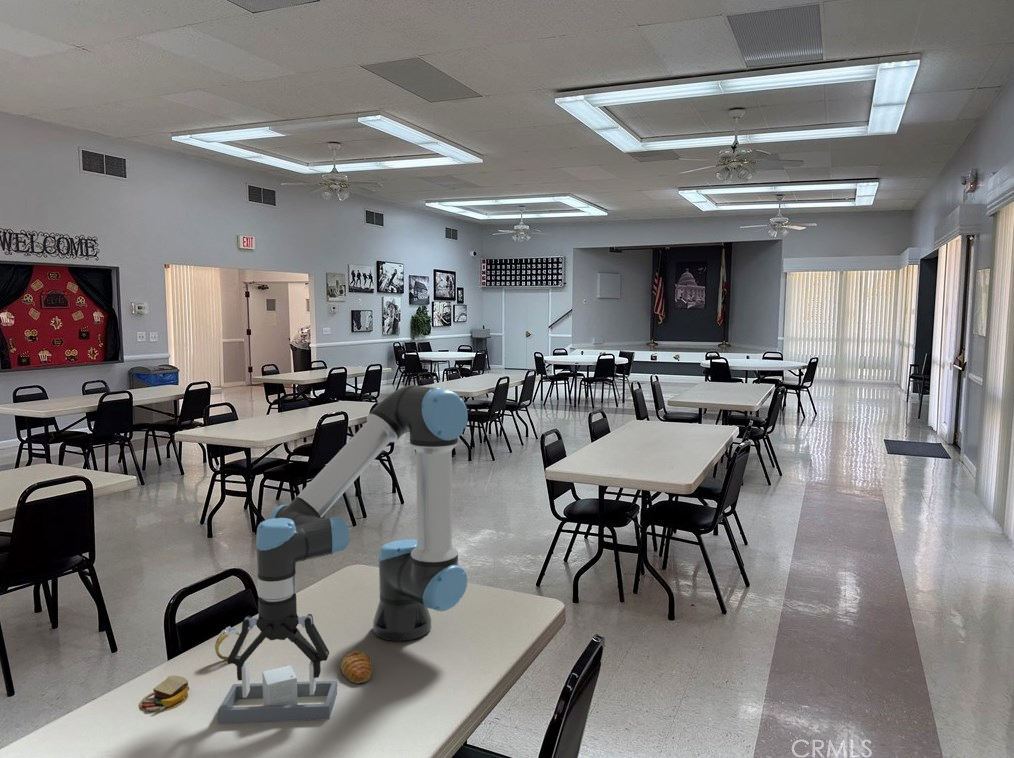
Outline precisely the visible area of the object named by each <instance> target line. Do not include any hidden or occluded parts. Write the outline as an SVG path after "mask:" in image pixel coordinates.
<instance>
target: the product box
mask: <svg viewBox="0 0 1014 758" xmlns="http://www.w3.org/2000/svg"><path fill="white" fill-rule="evenodd" d="M261 673H262V677H261V678H262V680H261V681H262V683H263V704H264V706H276V705H298V701H297V682H298V681H297V679H298V678H297V675H296V673H295V671H294V670H293V668H292V665H286V666H283V667H278V668H273V669H269V670H264V671H262V672H261Z"/></svg>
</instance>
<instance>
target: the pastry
mask: <svg viewBox="0 0 1014 758" xmlns="http://www.w3.org/2000/svg"><path fill="white" fill-rule="evenodd" d="M340 669H341V672H342V674H343V676H345V677H346V679H347V680H348V681H350V683H354V684H360V683H361V684H362V683H365V682H369V681H370V679H371V677H372V673H373V664H372V661H371V658H370V657H369V656H368V655H367V654H364V652H362V651H360V650H356V651H354V650H353V651H352V652H350V653H347V654H346V655H345V656H344V657H343V659H342V660H341V666H340Z"/></svg>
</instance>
